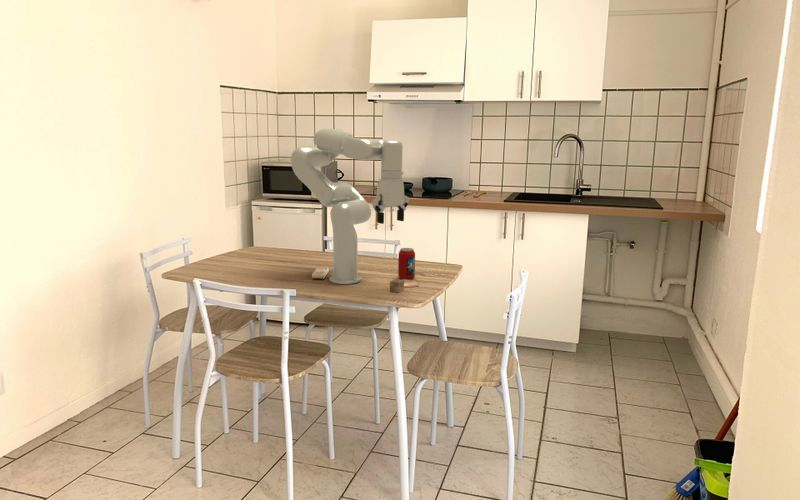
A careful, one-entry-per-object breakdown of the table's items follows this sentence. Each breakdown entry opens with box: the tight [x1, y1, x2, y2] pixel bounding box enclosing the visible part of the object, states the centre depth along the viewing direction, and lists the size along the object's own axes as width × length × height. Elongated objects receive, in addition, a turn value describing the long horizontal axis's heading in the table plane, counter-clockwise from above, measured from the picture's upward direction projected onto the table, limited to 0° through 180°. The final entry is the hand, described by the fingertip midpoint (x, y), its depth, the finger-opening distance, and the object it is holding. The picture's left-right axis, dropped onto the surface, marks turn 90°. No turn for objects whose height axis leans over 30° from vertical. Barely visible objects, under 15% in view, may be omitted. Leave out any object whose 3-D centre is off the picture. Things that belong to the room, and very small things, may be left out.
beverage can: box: [397, 247, 416, 280], centre depth 241 cm, size 7×7×12 cm
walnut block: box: [389, 278, 405, 294], centre depth 223 cm, size 4×4×4 cm
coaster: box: [402, 279, 419, 289], centre depth 232 cm, size 10×10×1 cm
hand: (390, 221), depth 218 cm, fingers open, 9 cm apart
